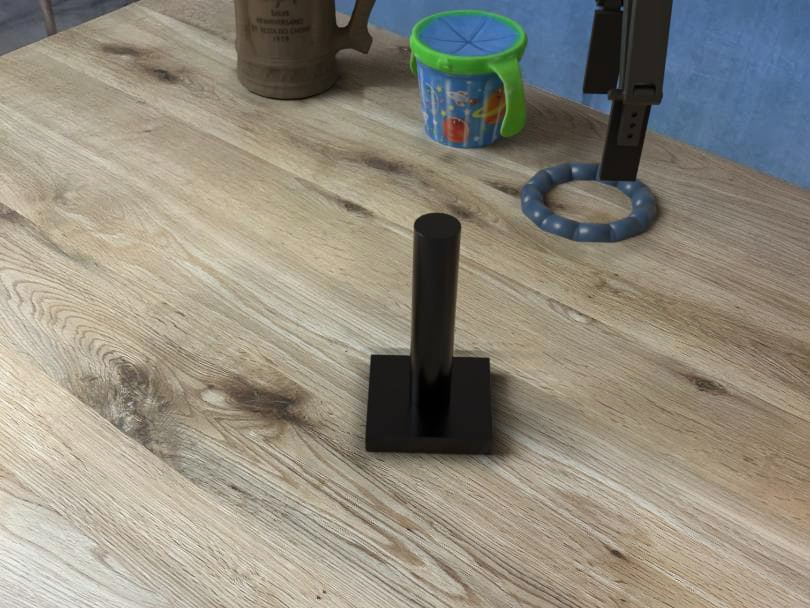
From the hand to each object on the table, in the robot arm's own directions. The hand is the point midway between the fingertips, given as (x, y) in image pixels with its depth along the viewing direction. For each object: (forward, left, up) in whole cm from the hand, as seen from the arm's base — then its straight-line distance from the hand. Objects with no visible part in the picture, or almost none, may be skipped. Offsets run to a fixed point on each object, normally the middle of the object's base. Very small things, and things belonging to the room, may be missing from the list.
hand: (607, 133), depth 84 cm
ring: (0, -5, -9) cm, 11 cm away
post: (+14, +22, -10) cm, 28 cm away
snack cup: (+11, -18, -11) cm, 24 cm away
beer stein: (+27, -30, -11) cm, 42 cm away
